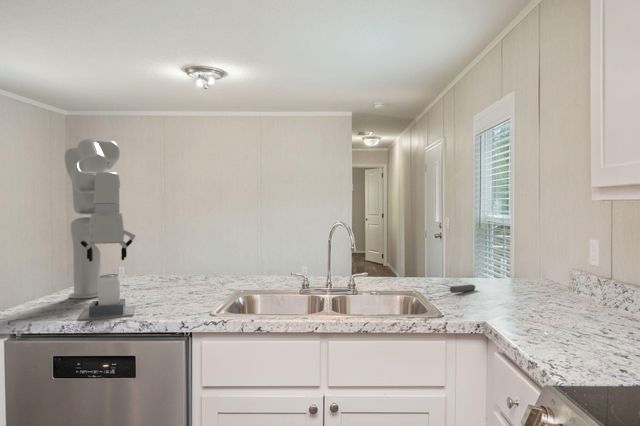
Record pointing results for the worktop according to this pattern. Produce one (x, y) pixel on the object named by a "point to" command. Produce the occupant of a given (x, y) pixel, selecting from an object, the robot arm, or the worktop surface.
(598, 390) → the worktop surface
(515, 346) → the worktop surface
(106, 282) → the can
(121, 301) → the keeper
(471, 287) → the kitchen whisk
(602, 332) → the worktop surface
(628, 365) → the worktop surface
